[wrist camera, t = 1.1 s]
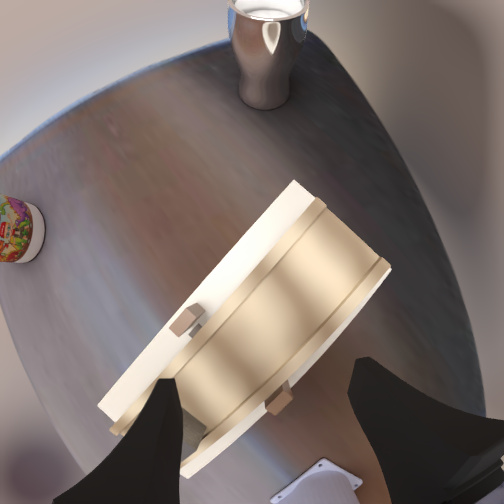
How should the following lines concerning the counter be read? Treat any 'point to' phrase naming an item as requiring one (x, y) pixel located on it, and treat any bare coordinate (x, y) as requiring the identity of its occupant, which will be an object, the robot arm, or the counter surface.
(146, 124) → the counter surface
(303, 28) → the beer glass
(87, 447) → the counter surface
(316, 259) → the balance beam
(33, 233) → the milk bottle
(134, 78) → the counter surface
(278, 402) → the beam stand
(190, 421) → the block
